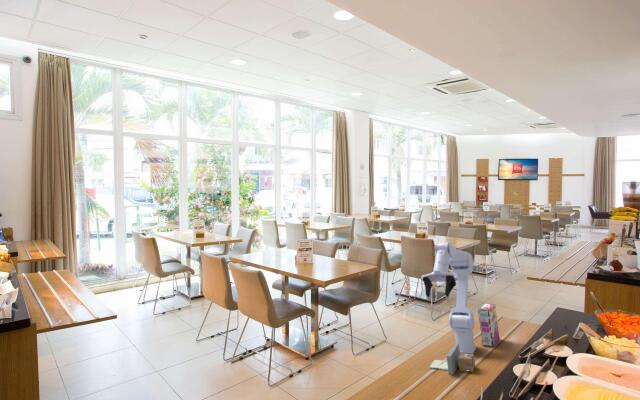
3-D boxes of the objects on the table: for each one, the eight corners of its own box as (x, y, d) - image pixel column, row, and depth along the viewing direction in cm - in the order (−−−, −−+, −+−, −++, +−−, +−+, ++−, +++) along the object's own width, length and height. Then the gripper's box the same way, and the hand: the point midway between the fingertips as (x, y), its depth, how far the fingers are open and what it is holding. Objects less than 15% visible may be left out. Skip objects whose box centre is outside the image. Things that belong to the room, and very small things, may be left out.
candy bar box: (493, 347, 166) (488, 310, 167) (482, 345, 169) (477, 309, 170) (500, 339, 175) (495, 303, 175) (489, 337, 178) (484, 303, 179)
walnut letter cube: (462, 365, 152) (460, 352, 152) (475, 367, 149) (473, 353, 149) (459, 370, 147) (457, 357, 148) (472, 372, 145) (471, 358, 145)
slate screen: (457, 360, 157) (455, 343, 157) (461, 360, 156) (458, 343, 157) (448, 374, 145) (446, 356, 146) (452, 374, 145) (450, 356, 145)
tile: (435, 361, 159) (434, 359, 159) (453, 363, 155) (452, 361, 155) (429, 368, 153) (429, 366, 153) (448, 370, 149) (448, 368, 149)
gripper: (420, 262, 156) (415, 289, 147) (455, 259, 147) (452, 289, 139) (427, 272, 160) (422, 299, 151) (461, 270, 151) (458, 299, 142)
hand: (436, 295), depth 145 cm, fingers open, 7 cm apart
